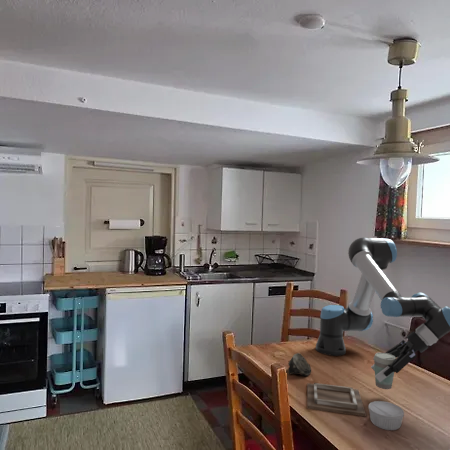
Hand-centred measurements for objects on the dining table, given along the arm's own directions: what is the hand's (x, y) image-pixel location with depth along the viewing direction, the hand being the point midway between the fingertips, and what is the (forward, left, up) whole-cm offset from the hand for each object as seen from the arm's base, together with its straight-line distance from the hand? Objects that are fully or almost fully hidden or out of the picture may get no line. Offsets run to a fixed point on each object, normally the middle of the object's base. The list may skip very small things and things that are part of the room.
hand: (375, 374), depth 155 cm
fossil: (-14, -29, -9) cm, 34 cm away
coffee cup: (0, +3, -5) cm, 6 cm away
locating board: (+8, -16, -9) cm, 20 cm away
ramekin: (+21, 0, -9) cm, 23 cm away
